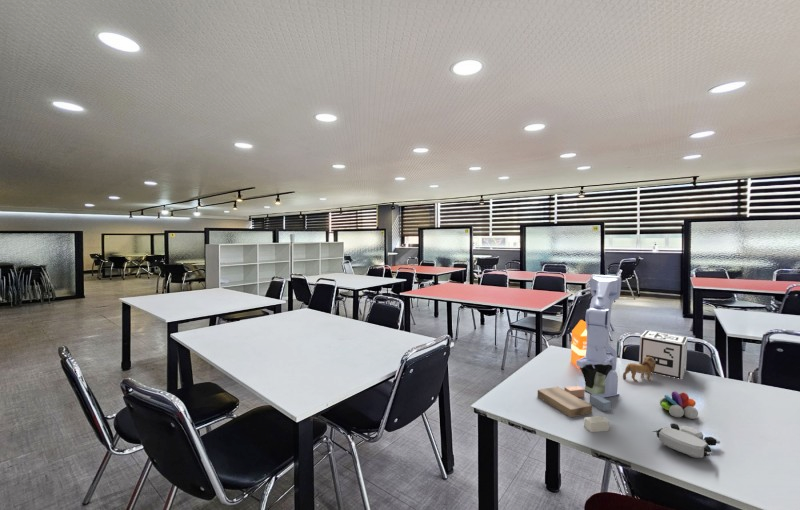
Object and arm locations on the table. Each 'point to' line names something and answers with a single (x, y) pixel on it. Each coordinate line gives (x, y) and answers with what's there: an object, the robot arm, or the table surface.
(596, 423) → the cream brick
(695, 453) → the robot toy
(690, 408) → the colorful egg cluster
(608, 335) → the robot arm
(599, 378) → the sage block
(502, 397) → the table surface
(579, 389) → the terracotta brick
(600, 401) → the slate brick
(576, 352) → the orange juice
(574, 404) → the walnut slab
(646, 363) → the lion figurine
